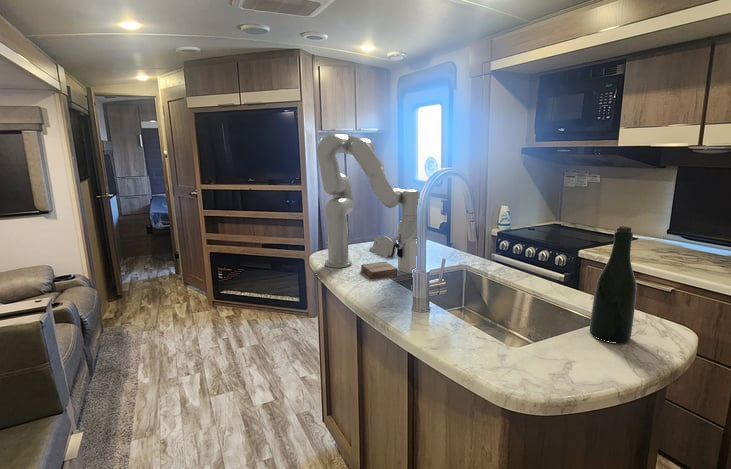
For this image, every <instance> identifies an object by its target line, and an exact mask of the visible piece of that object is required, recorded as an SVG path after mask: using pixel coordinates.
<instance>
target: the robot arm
mask: <svg viewBox="0 0 731 469" xmlns="http://www.w3.org/2000/svg"><path fill="white" fill-rule="evenodd" d="M337 154H346V155H350V156H353V157H354V159H355V161H356V162H357V163H358V165H359V166H360V168H361V169H362V171H363V172H364V174H365V175H366V177H367V180H368V182H369V184H370V187H371V189H372V191H373V192H374V194H375V196H376V197H377V199H378V200H379V201H380V203H381V204H382V205H383V207H386V208H387V209H392V208H393V209H394V208H395V207H397V206H399V205H401V220H399V224H398V230H397V235H396V236H395V237H393V238H391V239H392V242H393V244H394V245H395V246H396V255H397V258H398V257H400V258H402V249H401V248H402V247H403V245H405V244H406V240H407V239H408V238H409V237H410V236H411V235H412V234H413V233H414V230H416V233H417V205H418V199H419V200H420V191H419V190H417V189H401V188H397V187H396V188H392V186H391V185H390V183H389V182H388V180H387V177H386V175H385V168H384V164H383V162H382V161H381V160H380V158H379V157H378V155H377V153H375V145H374V143H373V142H372V141H371V140H370V139H369V138H365V137H364V138H363V137H359V136H354V135H350V134H344V133H329V134H327V135H326V136H324V137H323V138H322V139H321V140H320V142H319V143H318V144H317V149H316V155H317V161H318V165H319V169H320V177H321V182H322V186H323V190H324V192H325V193H326V194H327V195H329V196H333V198H331V199H330V200H328V201H327V203H326V204H325V209H324V210H325V212H324V213H325V219H326V226H327V227H326V228H327V256H328V257H327V258H328V259H327V260H325V262H324V265H325V266H326V267H328V268H334V269H336V268H337V269H340V268H346V267H350V266H351V265H353V264H352V263H353V262H352V260H351V259H350V258H349V224H348V220H347V216H348V215H349V214H351V213H352V212H353V210H354V205H355V204H354V199H353V193H352V187H351V183H350V180H349V178H348V176H347V175H346V174H344V173H341V171H340V165H339V162H338V160H337V157H336V155H337ZM413 238H417V235H416V234H415V235H414V236H413ZM399 239H401V241H399ZM398 242H399V243H398Z"/></svg>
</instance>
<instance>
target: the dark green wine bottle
mask: <svg viewBox="0 0 731 469" xmlns="http://www.w3.org/2000/svg"><path fill="white" fill-rule="evenodd" d="M633 238H634V235H633V232H632V227H629V226H617V227H616V230H615V231H614V234H613V244H612V248H611V253H610V256H609V258H608V260H607V263H606V264H605V266H604V268H603V269H602V271H601V273H600V274H599V276H598V279H597V281H596V285H595V289H594V295H593V302H592V309H591V316H590V322H589V330H588V331H589V333H590V334H592V335H593V336H592V335H591V336H592V337H594V336H595V337H597V338H599V339H602V340H605V341H609V342H616V343H623V344H627V343H628V341H629V342H630V340H631V339H632V338H631V337H632V332H633V325H634V318H635V317H634V316H635V310H636V303H637V302H636V301H637V289H638V287H637V280H636V277H635V274H634V270H633V266H632V261H631V252H632V251H631V248H632V242H633ZM595 337H594V338H595ZM597 338H596V339H597ZM599 339H598V340H599ZM626 342H627V343H626Z"/></svg>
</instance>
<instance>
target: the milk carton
mask: <svg viewBox="0 0 731 469" xmlns="http://www.w3.org/2000/svg"><path fill="white" fill-rule="evenodd" d="M415 234H416V235H417V233H416V230H414V233H413V234H412V235H411V236H410V237H409V238H408V239H407V240H406V244H405V245H403V247H402V248H401V249H402V258H400V257H398V256H397V259H398V260H397V269H398V271H401V272H404V273H407V274H413V273H412V270H413V269H415V268H416V256H417V244H416V241H417V240H416V239H417V238H413V236H414V235H415ZM399 241H401V239H399ZM398 243H399V242H398V241H397V244H398Z"/></svg>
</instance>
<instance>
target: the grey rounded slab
mask: <svg viewBox="0 0 731 469" xmlns="http://www.w3.org/2000/svg"><path fill="white" fill-rule="evenodd" d="M392 239H393V238H391V237H389V236H386V235H377V236H376V237H375V239H374V241H373V244H372V246H370V248H369V252H371V251H372V252H371V253H374V254H377V255H379V256H381V257H384V258H386V259H387V258H388V257H389V256H391V257H395V256H396V254H397V248H396V246H395V245H394V244H393V242H392Z"/></svg>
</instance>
